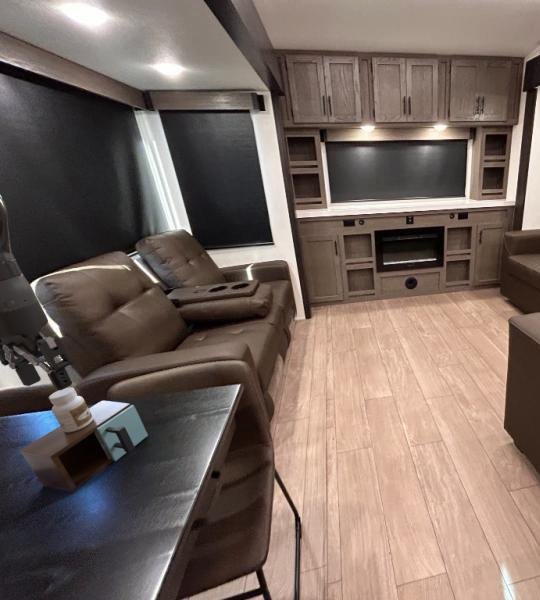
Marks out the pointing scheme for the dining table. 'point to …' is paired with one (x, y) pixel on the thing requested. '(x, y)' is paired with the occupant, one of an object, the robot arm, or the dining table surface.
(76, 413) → the pill bottle
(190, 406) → the dining table surface
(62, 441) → the cabinet
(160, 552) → the dining table surface
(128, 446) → the glass door
